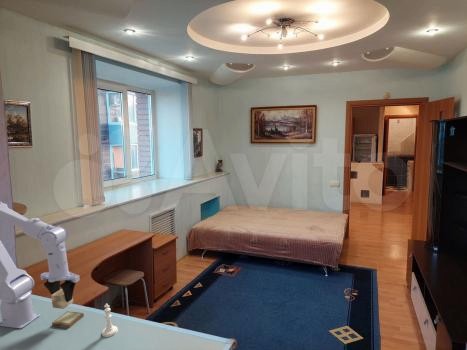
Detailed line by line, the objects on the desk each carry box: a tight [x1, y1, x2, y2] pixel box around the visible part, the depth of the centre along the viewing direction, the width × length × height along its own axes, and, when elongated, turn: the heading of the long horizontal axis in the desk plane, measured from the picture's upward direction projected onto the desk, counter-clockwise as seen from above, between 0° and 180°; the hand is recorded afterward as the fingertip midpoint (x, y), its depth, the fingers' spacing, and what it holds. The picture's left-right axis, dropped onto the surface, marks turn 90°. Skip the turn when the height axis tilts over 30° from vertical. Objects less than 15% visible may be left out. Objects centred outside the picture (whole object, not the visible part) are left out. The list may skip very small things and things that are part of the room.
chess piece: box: [101, 303, 119, 338], centre depth 103 cm, size 5×5×10 cm
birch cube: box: [50, 288, 74, 310], centre depth 110 cm, size 4×4×4 cm
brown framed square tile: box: [51, 311, 85, 329], centre depth 112 cm, size 7×7×1 cm
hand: (63, 299), depth 110 cm, fingers closed on birch cube, 4 cm apart
